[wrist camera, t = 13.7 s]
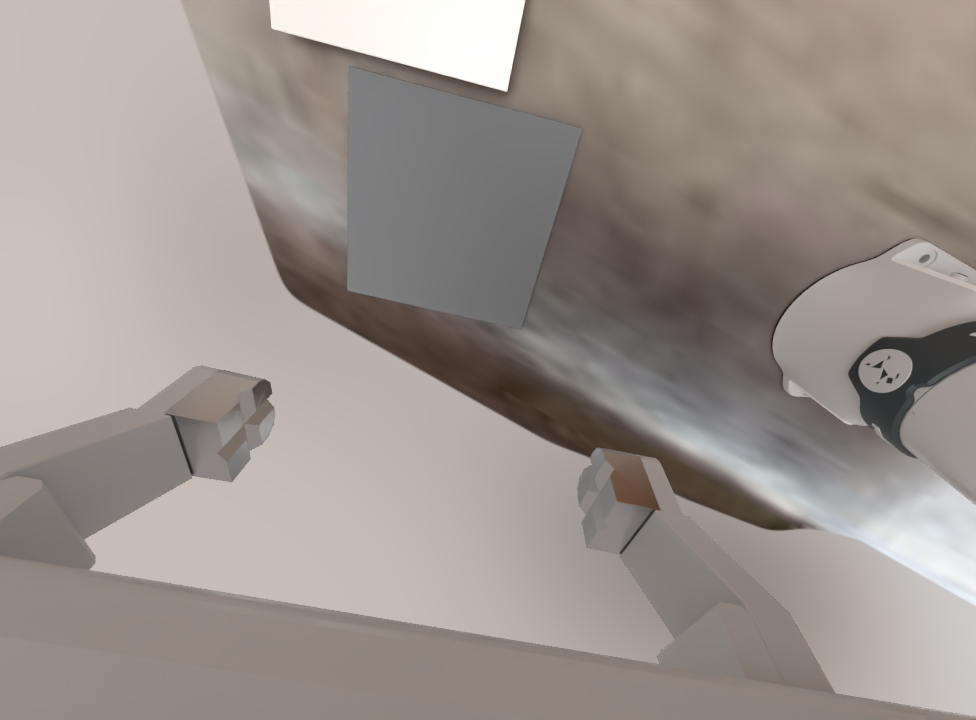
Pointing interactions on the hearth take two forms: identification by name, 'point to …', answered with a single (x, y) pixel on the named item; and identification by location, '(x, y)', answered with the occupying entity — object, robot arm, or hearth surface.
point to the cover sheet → (415, 32)
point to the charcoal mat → (450, 198)
